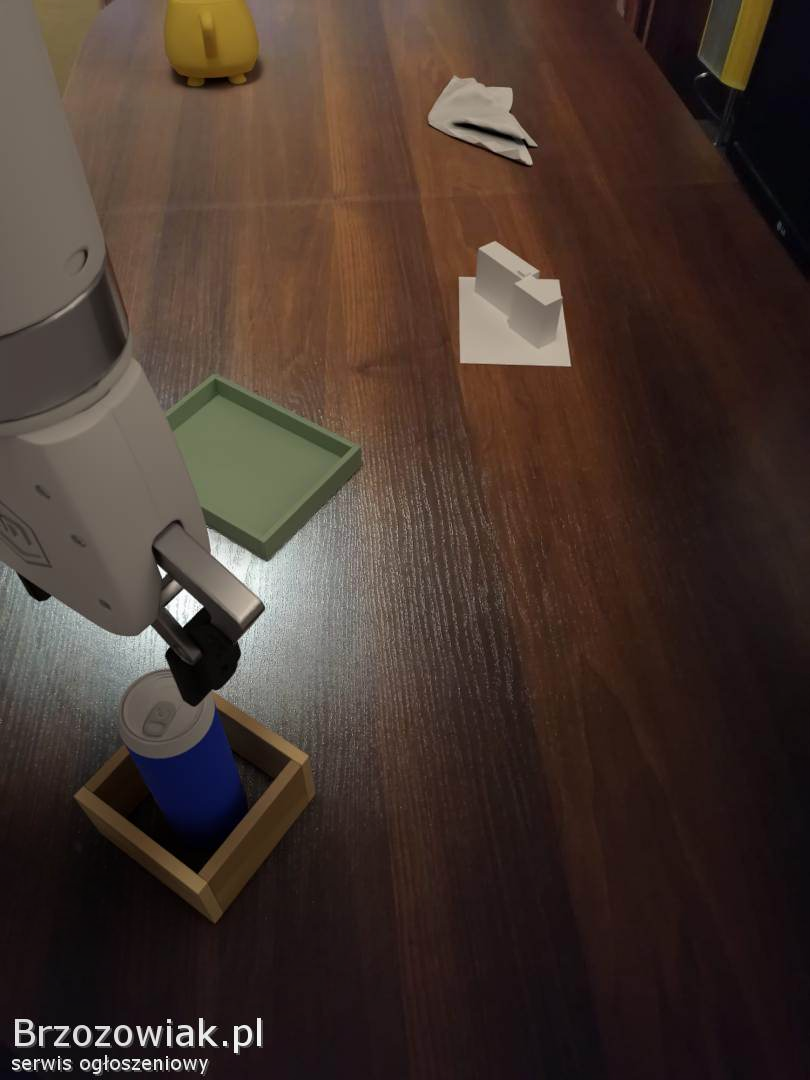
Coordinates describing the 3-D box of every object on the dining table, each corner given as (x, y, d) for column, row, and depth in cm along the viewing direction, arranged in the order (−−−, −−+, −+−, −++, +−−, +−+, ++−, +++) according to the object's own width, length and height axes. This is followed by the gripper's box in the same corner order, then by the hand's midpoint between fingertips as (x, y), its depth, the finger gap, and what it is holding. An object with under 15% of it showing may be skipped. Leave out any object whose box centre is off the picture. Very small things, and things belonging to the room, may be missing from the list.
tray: (118, 474, 76) (111, 454, 75) (218, 392, 83) (214, 372, 81) (267, 561, 71) (263, 542, 69) (362, 466, 77) (361, 446, 76)
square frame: (99, 832, 56) (73, 796, 52) (204, 717, 62) (189, 674, 57) (215, 924, 53) (197, 894, 48) (316, 793, 58) (309, 755, 54)
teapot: (257, 40, 135) (247, -52, 125) (265, 97, 123) (254, 0, 113) (170, 44, 133) (153, -49, 124) (169, 103, 121) (150, 5, 111)
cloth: (417, 80, 127) (417, 64, 125) (509, 77, 128) (511, 61, 126) (440, 170, 110) (441, 153, 109) (545, 166, 111) (548, 149, 110)
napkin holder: (457, 276, 96) (460, 230, 91) (558, 278, 96) (567, 232, 91) (460, 364, 86) (463, 316, 82) (573, 366, 86) (582, 319, 82)
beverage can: (186, 769, 59) (136, 655, 48) (258, 784, 59) (225, 672, 47) (158, 842, 56) (96, 739, 44) (233, 859, 55) (191, 759, 44)
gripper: (-276, 286, 27) (-54, 596, 41) (105, 518, 21) (220, 794, 35) (-76, 185, 31) (67, 498, 45) (295, 357, 25) (333, 660, 39)
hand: (134, 627), depth 40 cm, fingers open, 9 cm apart
